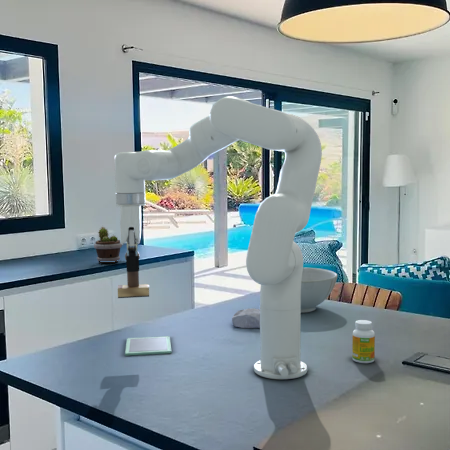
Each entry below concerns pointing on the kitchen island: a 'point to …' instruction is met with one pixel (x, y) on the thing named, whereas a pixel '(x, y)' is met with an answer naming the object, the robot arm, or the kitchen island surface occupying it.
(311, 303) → the decorative bowl
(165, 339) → the ink pad
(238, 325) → the stone block
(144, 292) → the stamp
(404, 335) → the kitchen island surface
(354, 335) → the supplement bottle
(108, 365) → the kitchen island surface
